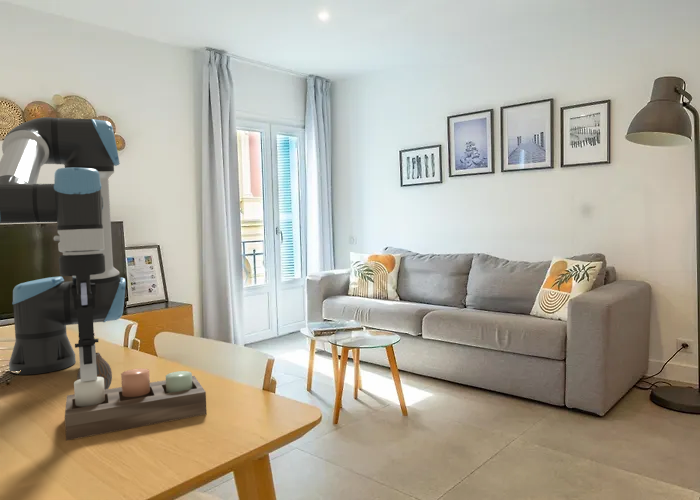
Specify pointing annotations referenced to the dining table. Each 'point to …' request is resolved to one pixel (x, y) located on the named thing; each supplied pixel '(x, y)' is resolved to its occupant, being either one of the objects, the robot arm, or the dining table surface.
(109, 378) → the vase
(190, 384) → the button sage
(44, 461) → the dining table surface
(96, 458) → the dining table surface
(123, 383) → the button terracotta
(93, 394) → the button cream
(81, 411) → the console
